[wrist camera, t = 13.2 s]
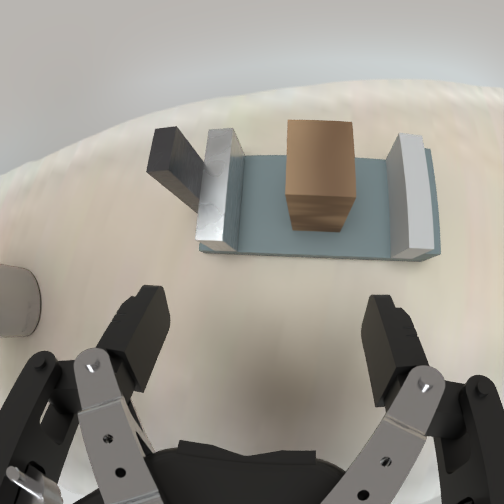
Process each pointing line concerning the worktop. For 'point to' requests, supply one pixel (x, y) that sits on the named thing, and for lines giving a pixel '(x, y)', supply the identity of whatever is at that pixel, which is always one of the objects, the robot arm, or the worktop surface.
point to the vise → (359, 218)
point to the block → (320, 174)
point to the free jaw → (203, 181)
